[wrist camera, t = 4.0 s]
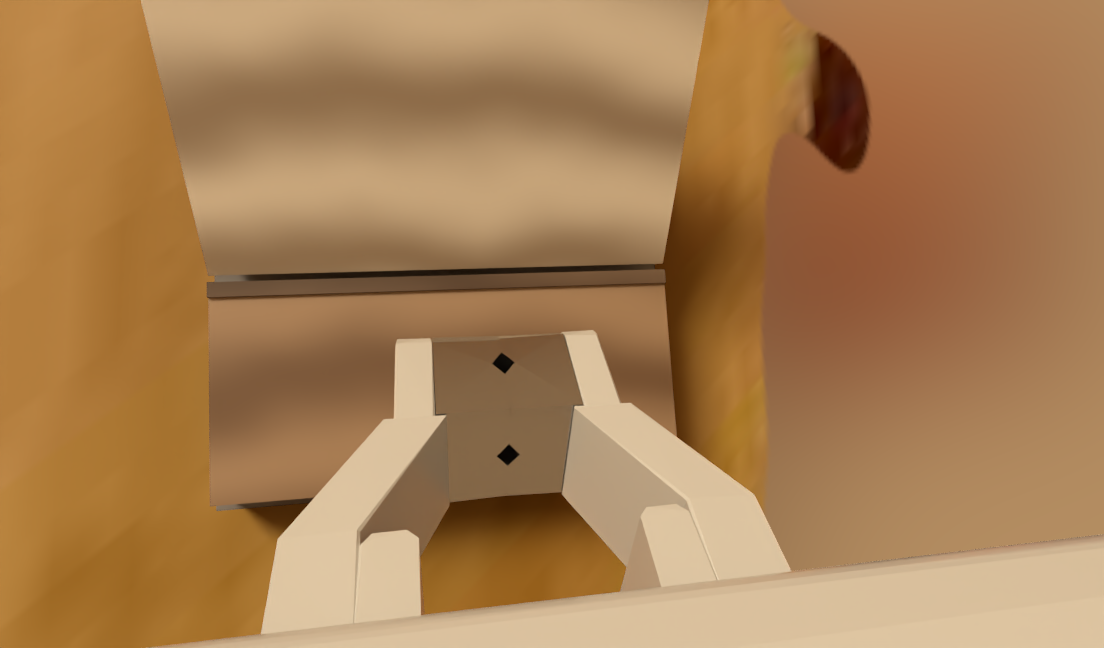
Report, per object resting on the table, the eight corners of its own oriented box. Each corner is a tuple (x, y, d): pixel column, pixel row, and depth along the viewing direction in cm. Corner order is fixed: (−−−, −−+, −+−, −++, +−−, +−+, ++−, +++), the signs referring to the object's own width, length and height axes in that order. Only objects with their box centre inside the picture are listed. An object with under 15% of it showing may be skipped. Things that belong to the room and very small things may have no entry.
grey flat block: (650, 466, 35) (692, 477, 29) (236, 500, 31) (194, 521, 25) (618, 43, 37) (651, -21, 32) (231, 30, 33) (191, -45, 28)
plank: (646, 238, 32) (662, 263, 30) (222, 247, 29) (208, 275, 27) (696, -76, 25) (721, -72, 23) (140, -115, 22) (112, -114, 20)
